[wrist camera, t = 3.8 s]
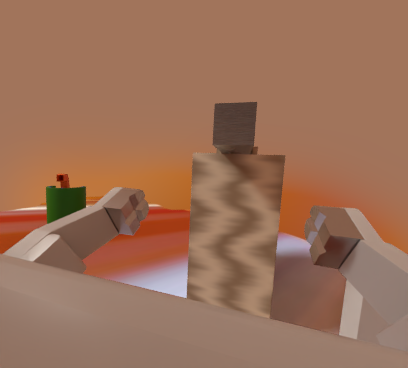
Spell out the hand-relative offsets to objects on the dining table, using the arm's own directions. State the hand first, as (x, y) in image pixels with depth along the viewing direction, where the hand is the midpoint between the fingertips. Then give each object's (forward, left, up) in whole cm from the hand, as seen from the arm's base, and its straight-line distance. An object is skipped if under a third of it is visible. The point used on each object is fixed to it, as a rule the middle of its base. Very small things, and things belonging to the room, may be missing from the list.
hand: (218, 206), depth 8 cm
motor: (-55, +35, -22) cm, 69 cm away
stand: (0, +25, -22) cm, 33 cm away
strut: (0, +20, +4) cm, 20 cm away
